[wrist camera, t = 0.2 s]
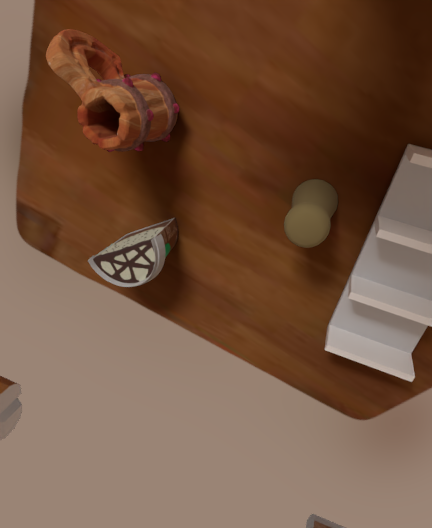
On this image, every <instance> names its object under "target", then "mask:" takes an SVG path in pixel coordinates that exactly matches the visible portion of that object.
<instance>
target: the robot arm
mask: <svg viewBox="0 0 432 528" xmlns="http://www.w3.org/2000/svg"><path fill="white" fill-rule="evenodd" d="M20 394H21V387H20V384H17V383H15V382H13V381H11V380H9V379H6V378H4V377H2V376H0V440H2V439H4V438H6V437H7V436H8V435H9V434H10V432H11V431H12V430H13V429H14V428H15V426H16V424H17V423H18V421H19V419H20V416H21V413H22V404H21V402H20V401H19V399H18V398H17V397H18V396H19V395H20ZM306 528H345V527H343V526H341V525H338V524H336V523H334V522H331V521H329V520H326V519H324V518H321V517H319V516H317V515H314V514H312V515H310V517H309V518H308V520H307V524H306Z"/></svg>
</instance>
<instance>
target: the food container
mask: <svg viewBox="0 0 432 528" xmlns="http://www.w3.org/2000/svg"><path fill="white" fill-rule="evenodd" d="M177 239H178V224H177V221H176V218H172V219H169V220H167V221H164V222H161V223H158V224H155V225H152V226H149V227H146V228H143V229H140V230H137V231H134V232H131V233H128V234H126V235H125V236H123V237H122V238H120V239H119V240H117V241H116V242H115V243H113V244H112V245H110V246H109V247H107V248H106V249H104V250H103V251H101V252H100V253H98V254H97V255H95V256H92V257H91V258H90V259H89V260H88V262H89V264H90V265H91V267H92V268H93V269H94V270H95V271H96V272H97V273H98V274H99V275H100V276H101V277H102V278H104V279H105V280H107V281H108V282H110V283H112V284H115V285H118V286H123V287H134V286H139V285H142V284H145V283H147V282H149V281H150V280H152V279H154V278H155V277H156V276H157V275H158V274H159V273H160V271H161V270H162V267H163V265H164V262H165V258H166V256H167V255H168V254H169V252H170V251H171V250H172V248H173V247H174V246H175V244H176V242H177Z"/></svg>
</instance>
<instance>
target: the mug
mask: <svg viewBox="0 0 432 528" xmlns="http://www.w3.org/2000/svg"><path fill="white" fill-rule="evenodd" d="M46 58H47V61H48V64H49V66H50V67H51V68H52V70H53V71H54V72H55V73H56V74H57V75H58V76H60V77H61V78H62V79H63V80H65V81H66V82H67V83H68V84H70V86H71V87H72V88H73V89H74V90H75V91H76V93H77V94H78V95H79V97H80V98H81V100H82V105H81V106H79V108H78V121H79V123H80V124H81V125H82V126H83V133H84V135H85V136H86V138H87V139H89V140H91V141H92V143H93V144H98V145H99V147H100V148H102V149H105V150H107V151H108V152H111V151H114V150H116V151H129V150H132V149H135V150H137V151H142V150H143V145H144V141H147V142H155V141H158V140H162V141H165V142H168V141H169V140H170V132H171V131H172V129H173V127H174V126H175V123H176V121H177V113H178V112H179V105H178V104H176V101H175V99H174V96H173V94H172V92H171V91H170V89H169V88H168V87H167V85H166V84H165V83H164V82H163V81H161V76H160V75H159V74H158V73H153V74H152V75H149V74H138V75H134V76H130V75H128V74H125V75H123V71H122V65H121V60H120V57H119V56H118V55H117V54H115V53H114V52H112V51H111V50H110V49H109V48H107V47H106V46H105V45H103V44H102V43H101V42H99V41H98V40H97V39H95V38H94V37H92V36H90V35H88V34H85V33H83V32H80V31H77V30H72V29H67V30H63V31H61V32H60V33H58V34H57V35H56V36H54V38H53V40H52V41H51V43H50V45H49V47H48V49H47V53H46ZM89 66H90V67H91V68H93V69H94V70H96V71H97V72H98V74H99V75H100V76H101V77H102V78H103V79H104V80H103V81H102V80H100V79H95V77H94V76H93V74H92V73H91V71H90V69H89Z"/></svg>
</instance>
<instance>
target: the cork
mask: <svg viewBox="0 0 432 528" xmlns="http://www.w3.org/2000/svg"><path fill="white" fill-rule="evenodd" d="M337 206H338V195H337V193H336V191H335V189H334V188H333V187H332V186H331V185H330V184H329V183H327V182H325V181H324V180H319V179H313V180H308V181H305V182H303V183H302V184H300V185H299V186H298V187H297V188H296V190H295V192H294V194H293V198H292V209H290V210H289V212H288V214H287V215H286V217H285V221H284V229H285V233H286V235H287V237H288V239H289V240H290V241H291V242H292V243H294V244H295V245H297V246H300V247H304V248H308V247H314V246H317V245H319V244H320V243H321V242H323V241H324V240H325V239H326V237H327V236H328V234H329V231H330V227H331V224H330V218H331V217H332V215H333V214H334V212H335V211H336V209H337Z"/></svg>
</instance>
